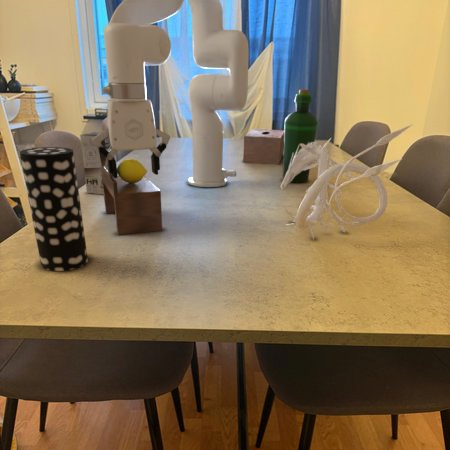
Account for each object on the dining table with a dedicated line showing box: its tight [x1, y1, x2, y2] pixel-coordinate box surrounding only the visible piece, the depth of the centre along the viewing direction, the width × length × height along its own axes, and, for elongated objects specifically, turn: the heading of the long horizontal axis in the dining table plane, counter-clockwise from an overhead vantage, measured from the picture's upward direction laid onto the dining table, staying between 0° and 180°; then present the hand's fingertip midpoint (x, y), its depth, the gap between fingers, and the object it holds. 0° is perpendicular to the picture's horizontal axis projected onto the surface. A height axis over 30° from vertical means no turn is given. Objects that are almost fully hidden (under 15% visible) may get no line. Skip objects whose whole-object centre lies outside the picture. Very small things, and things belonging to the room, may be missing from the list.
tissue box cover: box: [242, 128, 284, 165], centre depth 183 cm, size 26×14×10 cm, turn 169°
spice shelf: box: [101, 166, 163, 236], centre depth 101 cm, size 10×18×11 cm, turn 22°
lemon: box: [117, 158, 148, 183], centre depth 99 cm, size 7×5×5 cm
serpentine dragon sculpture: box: [279, 123, 413, 241], centre depth 93 cm, size 45×21×26 cm, turn 4°
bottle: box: [282, 88, 319, 184], centre depth 140 cm, size 11×11×28 cm
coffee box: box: [79, 131, 119, 195], centre depth 125 cm, size 9×6×16 cm
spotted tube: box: [19, 146, 89, 272], centre depth 76 cm, size 8×8×20 cm
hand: (135, 174), depth 100 cm, fingers open, 9 cm apart
